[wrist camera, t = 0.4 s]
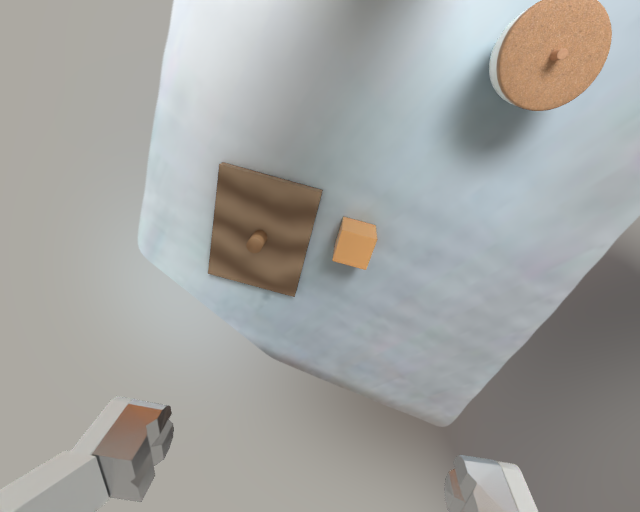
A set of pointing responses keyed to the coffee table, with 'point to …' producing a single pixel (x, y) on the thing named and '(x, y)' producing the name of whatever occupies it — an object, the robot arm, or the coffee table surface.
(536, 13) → the lidded jar
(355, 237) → the wooden toy cube
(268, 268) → the post block
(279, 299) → the coffee table surface
